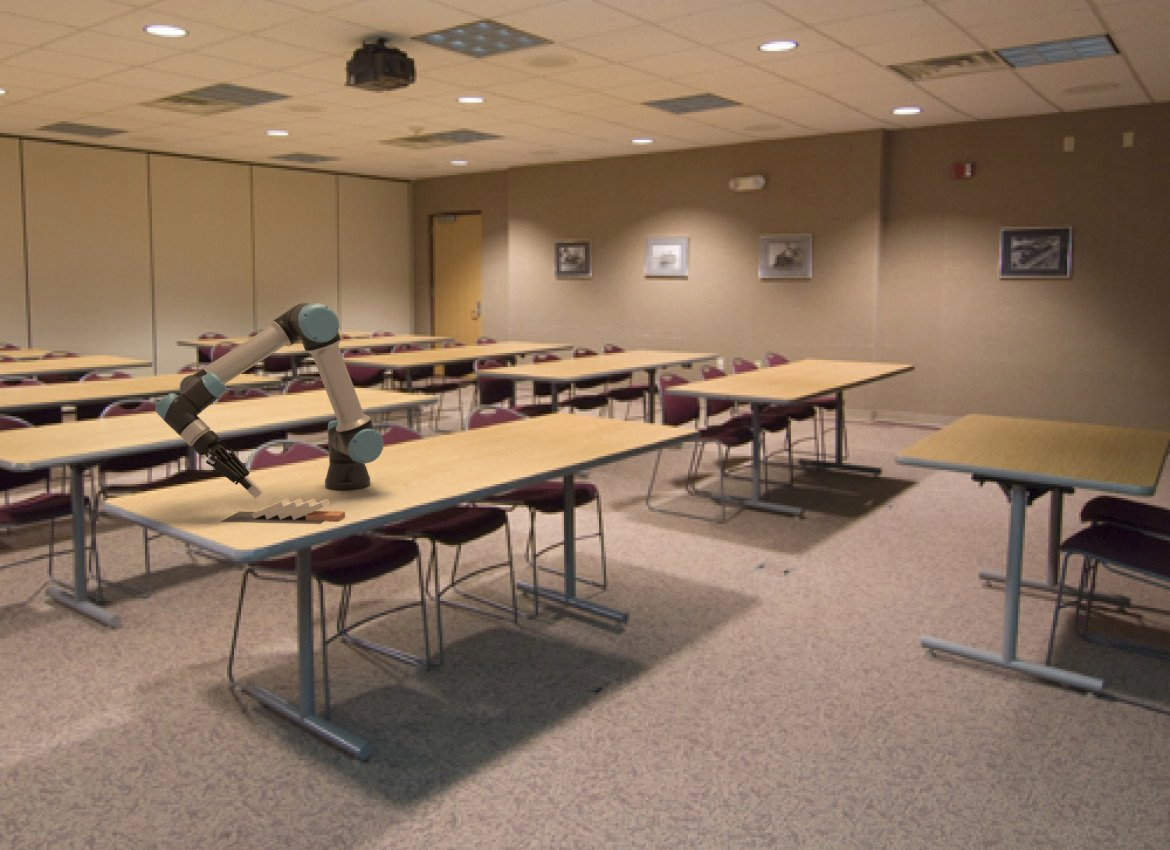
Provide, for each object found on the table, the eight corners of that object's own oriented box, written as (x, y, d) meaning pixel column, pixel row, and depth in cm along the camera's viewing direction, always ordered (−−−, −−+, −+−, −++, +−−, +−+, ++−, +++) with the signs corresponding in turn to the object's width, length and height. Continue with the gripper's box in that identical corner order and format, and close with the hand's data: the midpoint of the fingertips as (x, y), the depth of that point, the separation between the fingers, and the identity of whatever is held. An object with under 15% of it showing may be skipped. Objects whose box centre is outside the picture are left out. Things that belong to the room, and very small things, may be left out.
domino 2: (264, 514, 264) (294, 501, 262) (271, 510, 269) (301, 497, 267) (266, 519, 264) (296, 506, 262) (274, 515, 269) (303, 502, 267)
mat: (220, 522, 262) (219, 521, 261) (239, 512, 273) (239, 511, 273) (320, 524, 259) (320, 523, 259) (335, 514, 271) (335, 513, 271)
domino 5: (305, 515, 263) (338, 515, 262) (312, 510, 267) (344, 511, 267) (305, 520, 263) (339, 521, 262) (312, 516, 268) (345, 516, 267)
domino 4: (291, 515, 263) (321, 502, 262) (298, 510, 268) (327, 498, 266) (293, 520, 263) (323, 507, 262) (300, 515, 268) (329, 503, 267)
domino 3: (277, 514, 263) (307, 502, 262) (285, 510, 268) (314, 498, 267) (280, 519, 263) (310, 507, 262) (287, 515, 268) (316, 503, 267)
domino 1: (251, 514, 264) (280, 501, 263) (259, 510, 269) (288, 497, 268) (253, 519, 264) (283, 506, 263) (261, 514, 269) (290, 502, 268)
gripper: (204, 443, 272) (261, 498, 273) (181, 450, 259) (240, 508, 260) (220, 425, 270) (277, 481, 271) (198, 432, 257) (257, 491, 258)
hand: (259, 494), depth 266 cm, fingers closed
